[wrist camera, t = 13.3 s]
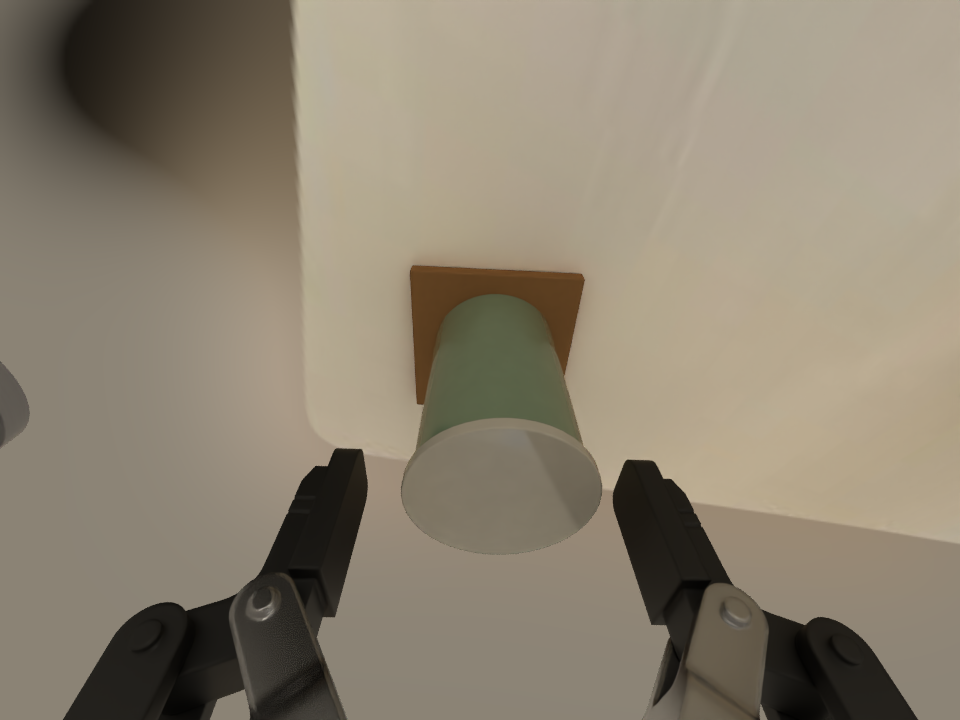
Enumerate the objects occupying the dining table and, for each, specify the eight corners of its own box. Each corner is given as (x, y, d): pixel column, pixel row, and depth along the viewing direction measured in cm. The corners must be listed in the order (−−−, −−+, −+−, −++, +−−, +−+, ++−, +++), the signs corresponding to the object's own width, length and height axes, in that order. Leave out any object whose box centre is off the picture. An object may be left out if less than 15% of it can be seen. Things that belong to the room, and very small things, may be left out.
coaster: (418, 397, 20) (416, 404, 20) (412, 264, 16) (409, 270, 16) (555, 402, 20) (557, 410, 20) (582, 273, 16) (585, 279, 16)
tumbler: (432, 392, 19) (406, 552, 13) (429, 285, 16) (393, 423, 10) (547, 397, 19) (581, 557, 13) (567, 291, 16) (625, 432, 10)
